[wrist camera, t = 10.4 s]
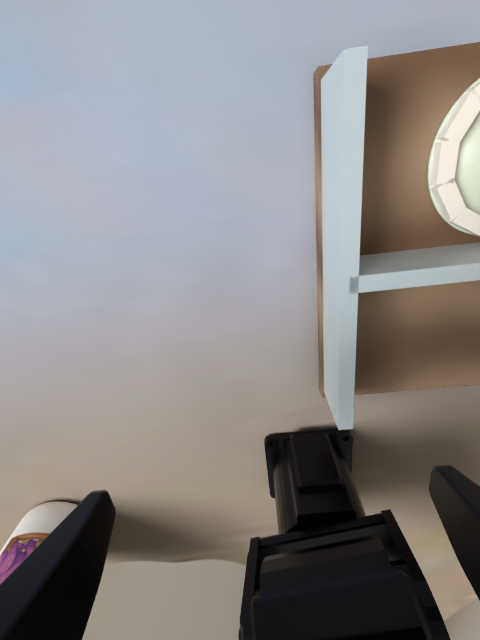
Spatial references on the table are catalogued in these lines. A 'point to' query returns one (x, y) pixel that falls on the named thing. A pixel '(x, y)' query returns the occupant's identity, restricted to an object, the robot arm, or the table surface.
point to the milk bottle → (31, 534)
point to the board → (397, 223)
